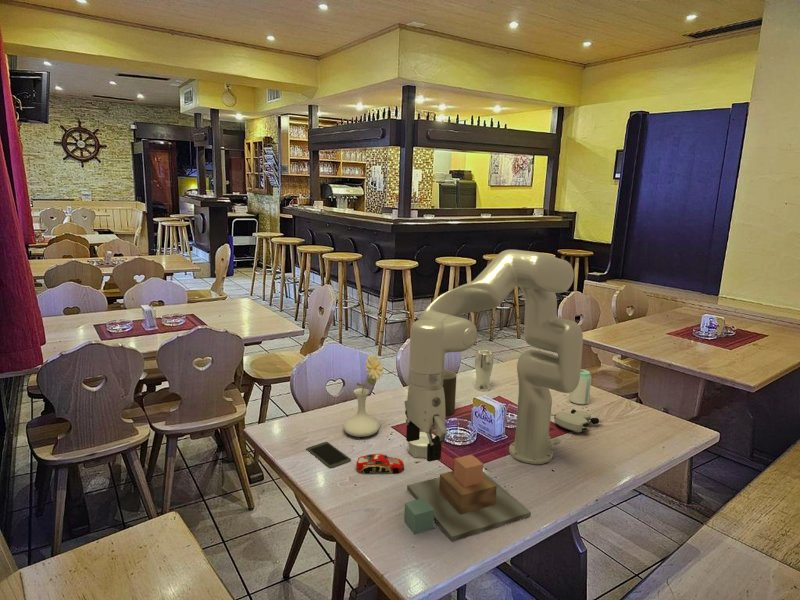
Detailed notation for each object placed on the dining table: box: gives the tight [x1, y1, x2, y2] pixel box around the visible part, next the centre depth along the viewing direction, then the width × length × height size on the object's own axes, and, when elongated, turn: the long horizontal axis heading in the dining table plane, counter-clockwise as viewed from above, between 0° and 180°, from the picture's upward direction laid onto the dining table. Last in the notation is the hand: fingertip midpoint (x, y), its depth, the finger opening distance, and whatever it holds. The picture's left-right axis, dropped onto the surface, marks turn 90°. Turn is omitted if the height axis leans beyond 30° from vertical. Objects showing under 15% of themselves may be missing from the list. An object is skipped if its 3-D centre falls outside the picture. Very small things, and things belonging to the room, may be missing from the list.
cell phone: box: [306, 441, 352, 469], centre depth 148 cm, size 7×14×1 cm, turn 39°
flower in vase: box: [342, 354, 384, 438], centre depth 161 cm, size 13×11×25 cm
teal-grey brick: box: [403, 498, 435, 535], centre depth 118 cm, size 5×5×5 cm
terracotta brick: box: [453, 454, 484, 487], centre depth 125 cm, size 5×5×5 cm
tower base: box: [406, 470, 532, 542], centre depth 127 cm, size 22×22×6 cm
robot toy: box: [551, 409, 603, 434], centre depth 171 cm, size 12×4×15 cm
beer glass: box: [474, 349, 494, 392], centre depth 201 cm, size 7×7×15 cm
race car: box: [355, 453, 405, 475], centre depth 141 cm, size 13×5×4 cm, turn 91°
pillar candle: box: [442, 369, 457, 417], centre depth 179 cm, size 10×10×15 cm
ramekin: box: [407, 431, 436, 459], centre depth 151 cm, size 9×9×4 cm
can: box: [568, 368, 592, 406], centre depth 190 cm, size 7×7×12 cm
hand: (422, 449), depth 114 cm, fingers open, 9 cm apart
